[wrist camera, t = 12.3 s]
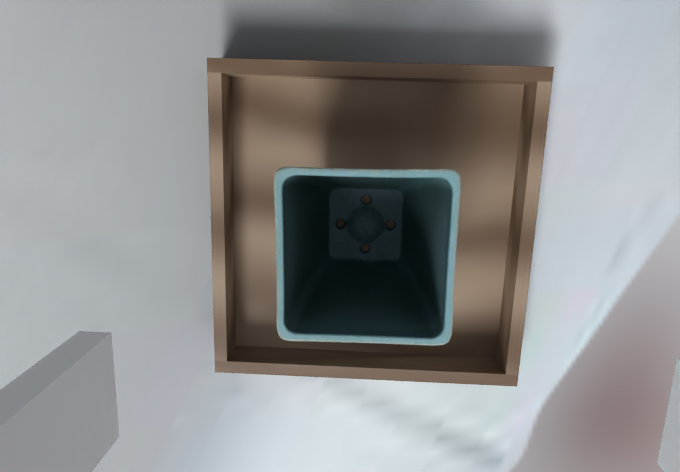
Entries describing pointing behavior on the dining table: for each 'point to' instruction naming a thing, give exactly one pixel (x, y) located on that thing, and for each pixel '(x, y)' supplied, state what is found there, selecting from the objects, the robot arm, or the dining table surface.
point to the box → (369, 153)
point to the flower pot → (366, 254)
